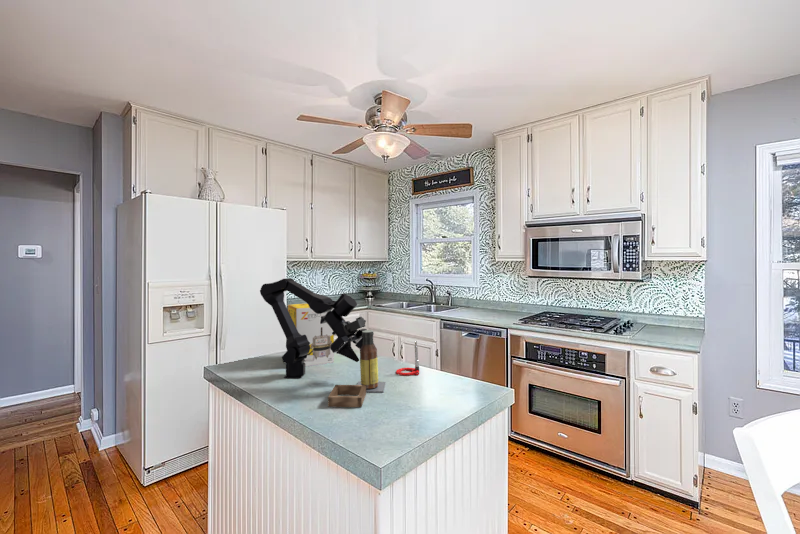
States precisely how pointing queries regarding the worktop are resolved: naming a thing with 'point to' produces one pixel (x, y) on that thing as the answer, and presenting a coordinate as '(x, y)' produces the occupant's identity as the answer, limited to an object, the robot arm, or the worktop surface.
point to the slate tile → (376, 390)
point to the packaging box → (313, 333)
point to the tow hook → (414, 370)
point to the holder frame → (347, 400)
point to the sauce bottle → (368, 361)
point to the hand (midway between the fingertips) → (364, 358)
